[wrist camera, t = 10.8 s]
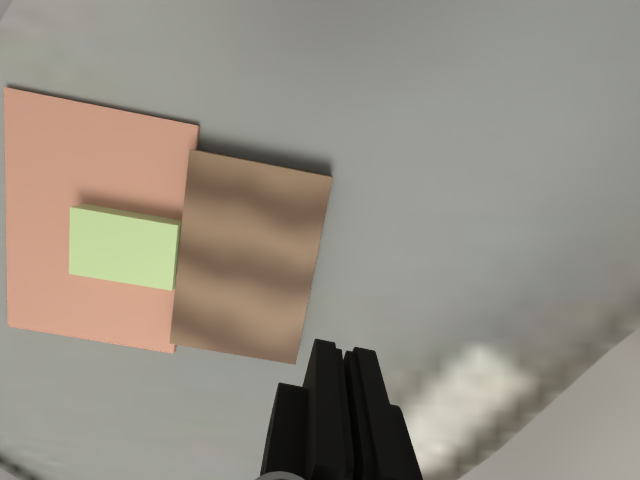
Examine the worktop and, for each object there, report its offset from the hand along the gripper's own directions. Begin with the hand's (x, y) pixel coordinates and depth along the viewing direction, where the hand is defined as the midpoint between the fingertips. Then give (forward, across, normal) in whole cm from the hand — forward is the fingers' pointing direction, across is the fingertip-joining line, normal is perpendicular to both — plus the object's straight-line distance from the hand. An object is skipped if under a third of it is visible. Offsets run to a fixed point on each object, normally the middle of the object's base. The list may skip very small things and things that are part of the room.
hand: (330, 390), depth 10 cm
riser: (+24, +6, +5) cm, 25 cm away
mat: (+24, +20, +6) cm, 31 cm away
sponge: (+22, +16, +6) cm, 28 cm away
